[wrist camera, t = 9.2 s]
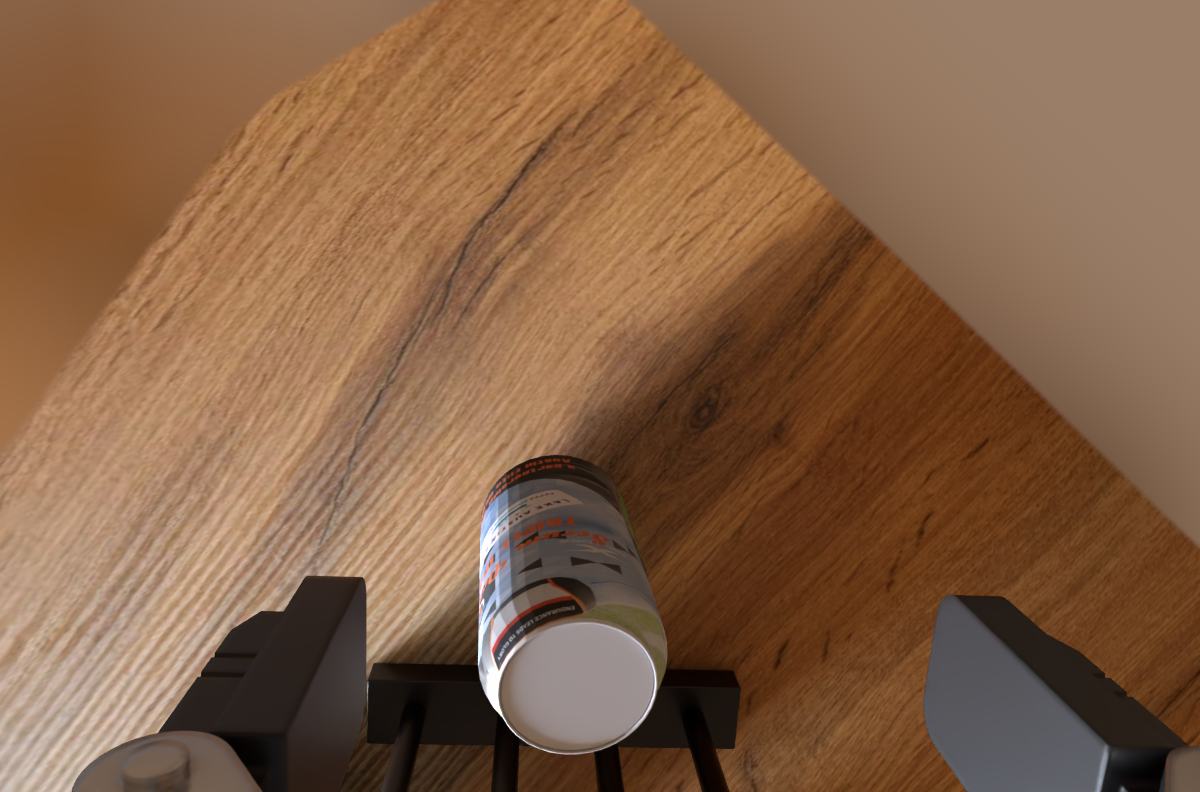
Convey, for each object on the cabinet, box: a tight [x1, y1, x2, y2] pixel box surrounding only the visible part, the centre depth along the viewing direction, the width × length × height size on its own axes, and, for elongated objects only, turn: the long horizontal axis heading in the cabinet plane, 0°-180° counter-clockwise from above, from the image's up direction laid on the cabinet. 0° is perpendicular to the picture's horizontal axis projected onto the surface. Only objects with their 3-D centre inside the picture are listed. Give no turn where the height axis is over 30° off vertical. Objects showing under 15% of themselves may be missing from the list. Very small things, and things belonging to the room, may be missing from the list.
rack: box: [367, 663, 741, 792], centre depth 35 cm, size 3×16×8 cm, turn 86°
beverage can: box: [478, 455, 668, 754], centre depth 32 cm, size 6×7×12 cm
